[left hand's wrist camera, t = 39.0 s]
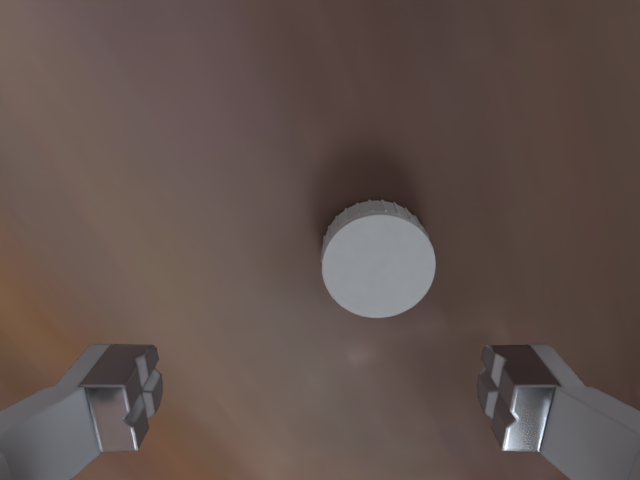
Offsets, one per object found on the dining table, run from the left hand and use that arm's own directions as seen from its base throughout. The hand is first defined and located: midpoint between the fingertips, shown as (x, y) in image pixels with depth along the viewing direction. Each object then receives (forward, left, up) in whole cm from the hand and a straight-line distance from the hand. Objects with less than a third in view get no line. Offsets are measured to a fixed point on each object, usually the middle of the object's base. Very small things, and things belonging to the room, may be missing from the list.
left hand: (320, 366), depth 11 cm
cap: (+2, 0, -6) cm, 6 cm away
